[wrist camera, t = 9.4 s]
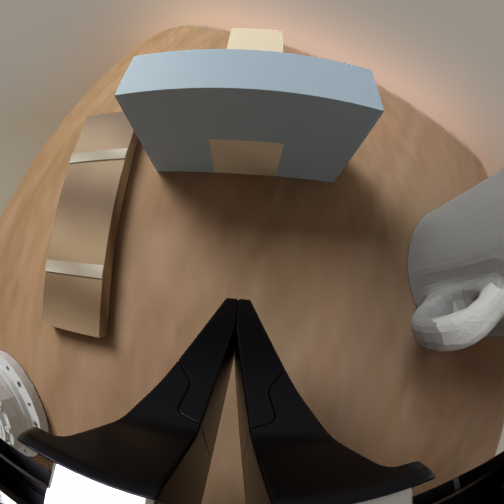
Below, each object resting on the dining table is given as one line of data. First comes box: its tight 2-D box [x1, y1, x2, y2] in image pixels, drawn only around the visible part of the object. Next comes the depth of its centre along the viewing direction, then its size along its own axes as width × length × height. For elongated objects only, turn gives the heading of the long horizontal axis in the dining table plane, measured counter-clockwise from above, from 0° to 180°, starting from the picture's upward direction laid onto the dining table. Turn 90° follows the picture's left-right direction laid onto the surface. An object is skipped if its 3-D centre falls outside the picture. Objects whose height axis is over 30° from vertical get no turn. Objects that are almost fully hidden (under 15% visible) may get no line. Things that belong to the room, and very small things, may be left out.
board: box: [43, 112, 139, 338], centre depth 16 cm, size 16×5×1 cm, turn 177°
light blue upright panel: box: [115, 28, 384, 183], centre depth 15 cm, size 12×12×8 cm
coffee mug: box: [408, 168, 504, 351], centre depth 12 cm, size 13×10×10 cm
